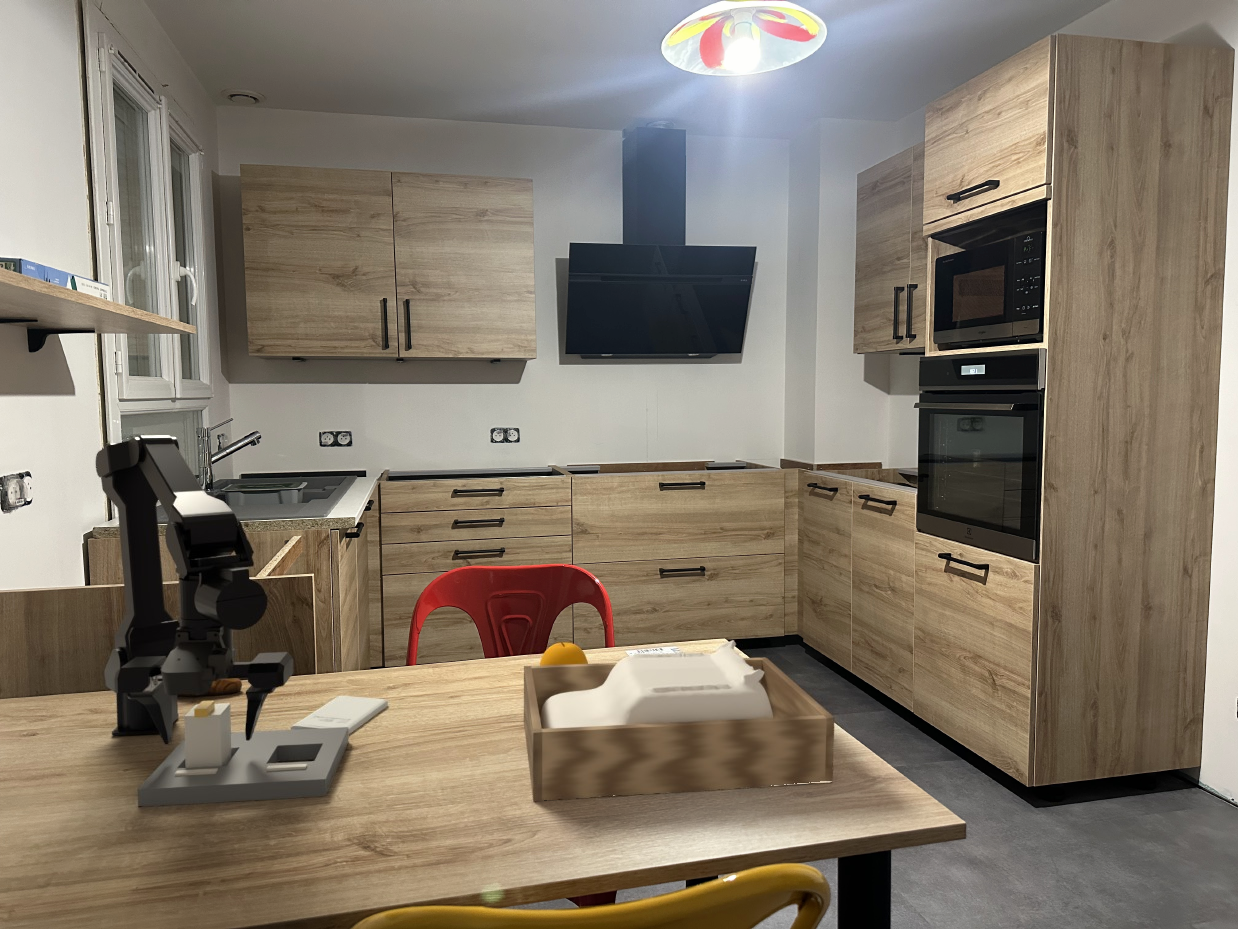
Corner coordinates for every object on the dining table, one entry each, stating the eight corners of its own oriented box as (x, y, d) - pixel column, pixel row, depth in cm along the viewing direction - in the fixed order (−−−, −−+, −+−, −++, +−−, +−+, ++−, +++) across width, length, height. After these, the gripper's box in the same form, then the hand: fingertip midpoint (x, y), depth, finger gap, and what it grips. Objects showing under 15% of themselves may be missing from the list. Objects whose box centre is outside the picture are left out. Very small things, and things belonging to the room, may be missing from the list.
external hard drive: (387, 710, 126) (345, 741, 113) (338, 705, 127) (290, 736, 115) (387, 699, 125) (345, 729, 113) (337, 695, 127) (290, 724, 115)
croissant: (141, 702, 127) (140, 670, 127) (163, 687, 134) (162, 656, 133) (232, 701, 128) (231, 669, 127) (249, 686, 134) (249, 656, 134)
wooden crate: (533, 801, 95) (533, 732, 95) (523, 721, 120) (523, 666, 119) (832, 782, 101) (834, 717, 100) (764, 709, 125) (766, 657, 125)
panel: (138, 807, 93) (137, 786, 93) (188, 749, 109) (188, 732, 108) (325, 796, 96) (325, 776, 96) (348, 741, 112) (348, 724, 112)
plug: (184, 784, 99) (182, 709, 98) (197, 768, 103) (195, 696, 103) (220, 782, 99) (218, 708, 99) (231, 766, 104) (230, 695, 103)
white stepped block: (789, 785, 101) (791, 676, 100) (539, 798, 97) (540, 684, 96) (744, 725, 120) (746, 633, 119) (534, 734, 116) (534, 639, 115)
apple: (587, 697, 130) (587, 650, 130) (536, 696, 130) (536, 649, 130) (589, 681, 138) (590, 636, 138) (542, 680, 138) (542, 635, 138)
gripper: (90, 634, 91) (94, 774, 92) (270, 629, 94) (272, 765, 95) (133, 610, 102) (136, 735, 103) (293, 606, 105) (295, 728, 106)
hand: (208, 741), depth 101 cm, fingers open, 9 cm apart
